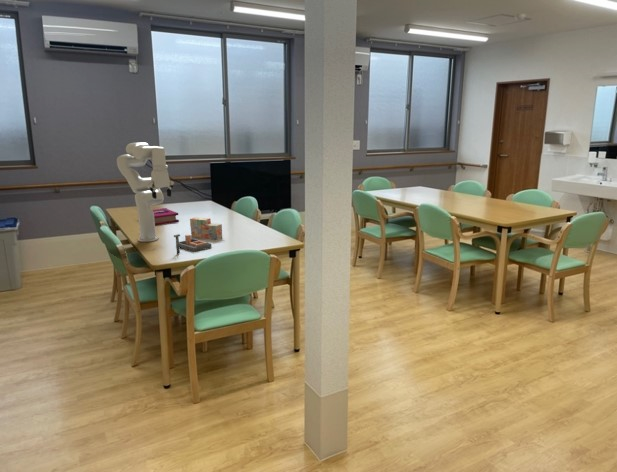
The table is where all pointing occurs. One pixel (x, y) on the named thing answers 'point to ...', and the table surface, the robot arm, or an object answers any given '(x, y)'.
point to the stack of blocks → (205, 228)
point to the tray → (188, 247)
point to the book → (164, 216)
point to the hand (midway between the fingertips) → (162, 197)
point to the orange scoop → (193, 244)
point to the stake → (177, 242)
